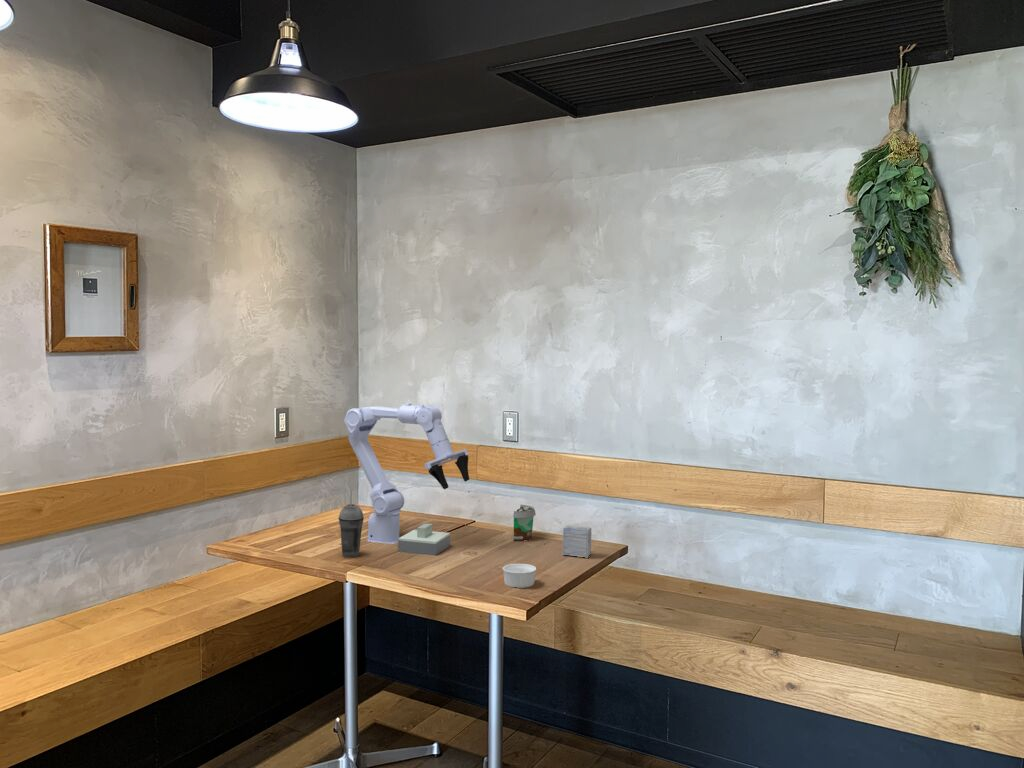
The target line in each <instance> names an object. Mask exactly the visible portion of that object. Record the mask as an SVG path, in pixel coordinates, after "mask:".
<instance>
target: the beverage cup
mask: <svg viewBox="0 0 1024 768" xmlns="http://www.w3.org/2000/svg"><path fill="white" fill-rule="evenodd" d="M352 498H353V497H352V488H350V489H349V504H347V505H345V506H343V508H342V509H340V512H339V515H338V523H339V528H340V540H341V554H342V557H343V558H347V559H348V558H358V556H360V549H361V538H362V527H363V524H364V519H365V518H364V513H363V510H362V509H361V507H360V506H358V505H356V504H353V503H352V501H353V500H352Z"/></svg>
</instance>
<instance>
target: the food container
mask: <svg viewBox="0 0 1024 768" xmlns="http://www.w3.org/2000/svg"><path fill="white" fill-rule="evenodd" d="M519 505H520V507H519V508H518V509H517V510H514V511H513V515H512V516H513V517H512V518H513V542H517V541H518V542H525V541H524V540H528V541H530V540H529V539H531V538H533V537H532V535H533V527H534V526H533V525H534V517H535V516H537V515H536V510H535V507H534V506H531V505H527V504H519ZM531 540H532V539H531Z"/></svg>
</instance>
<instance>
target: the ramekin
mask: <svg viewBox="0 0 1024 768" xmlns="http://www.w3.org/2000/svg"><path fill="white" fill-rule="evenodd" d="M502 572H503V580H504V581H503V582H504V584H505V586H508V587H509V586H510V588H514V587H517V588H516V589H526V588H530V587H532V586H534V584H535V582H536V581H535V580H536V572H537V567H536V566H535V565H532V564H529V563H527V564H526V563H509V564H506V565H504V566H503V567H502ZM525 587H526V588H525Z"/></svg>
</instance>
